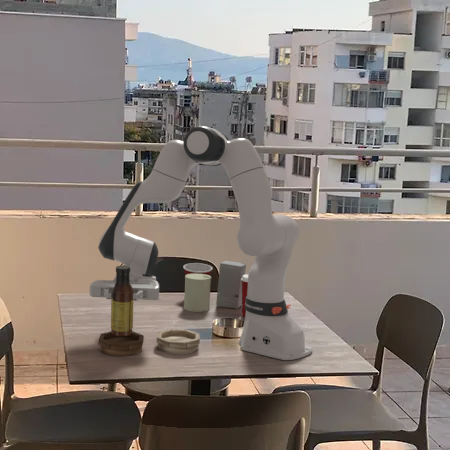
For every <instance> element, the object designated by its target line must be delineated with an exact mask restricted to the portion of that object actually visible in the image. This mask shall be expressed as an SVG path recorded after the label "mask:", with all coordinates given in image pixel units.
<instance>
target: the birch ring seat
mask: <svg viewBox="0 0 450 450" xmlns="http://www.w3.org/2000/svg"><path fill="white" fill-rule="evenodd" d="M200 337H201V336H200V333H199V332H196V331H193V330H189V329H184V328H183V329H182V328H181V329H180V328H170V329H163V330H162V331H161V330H160V331H158V332H157V335H156V343H157V349H158V350H159V351H160V352H161V351H162V352H164V353H167V354H173V355H185V354H191V353H195V352H197V351H198V350H199V345H200V344H201V342H200V341H201V340H200Z"/></svg>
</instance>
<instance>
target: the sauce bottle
mask: <svg viewBox="0 0 450 450" xmlns="http://www.w3.org/2000/svg"><path fill="white" fill-rule="evenodd" d="M115 272H116V273H115V274H116V275H115V276H116V283H115V286H114V289H113V292H112V295H111V299H110V300H111V301H110V304H111V306H110V308H111V309H110V310H111V311H110V332H112V334H114V335H116V336H129V335H131V334H132V331H133V328H134V300H133V289H132V286H131V285H130V283H129V282H130V280H129V273H130V267H129V266H125V264H123V265H122V264H121V265H117V266H116V267H115Z"/></svg>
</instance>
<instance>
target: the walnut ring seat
mask: <svg viewBox="0 0 450 450" xmlns="http://www.w3.org/2000/svg"><path fill="white" fill-rule="evenodd" d="M144 337H145V336H144V335H143V334H141V333H138V332H135V331H133V330H132V334H131V335H129V336H116V335H114V334H112V332H111V331H107V332H103V333H101V334H100V335H99V337H98V345H99V351H100V352H101V353H102V354H105V355H106V356H107V355H108V356H112V357H113V356H114V357H129V356H135V355H138V354H140V353H141V352H143V346H144V345H143V344H144V341H145V340H144V339H145V338H144Z"/></svg>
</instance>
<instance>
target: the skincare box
mask: <svg viewBox="0 0 450 450" xmlns="http://www.w3.org/2000/svg"><path fill="white" fill-rule="evenodd" d="M246 268H247V263H243V262H237V261H231V260H230V261H229V260H224V261H221V262H220V265H219V273H218V274H219V275H218V282H217V292H216V304H215V306H216V307H217V308H218V307H219V308H227V309H235V310H238V309H239V308H241V307H242V280H241V279H242V276H243V275H245V274H246Z"/></svg>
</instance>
